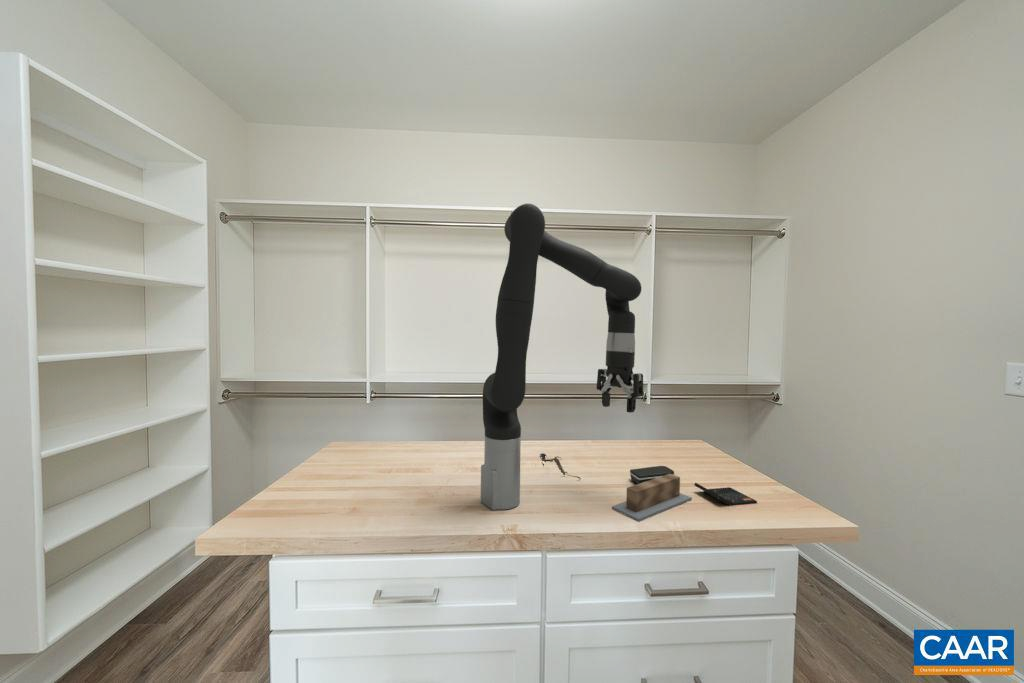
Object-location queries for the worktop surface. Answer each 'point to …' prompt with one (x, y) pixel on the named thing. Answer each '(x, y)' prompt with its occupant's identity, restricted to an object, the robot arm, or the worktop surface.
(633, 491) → the wooden block
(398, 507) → the worktop surface
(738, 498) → the calculator
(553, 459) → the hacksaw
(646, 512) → the mat
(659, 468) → the black striped rounded block
